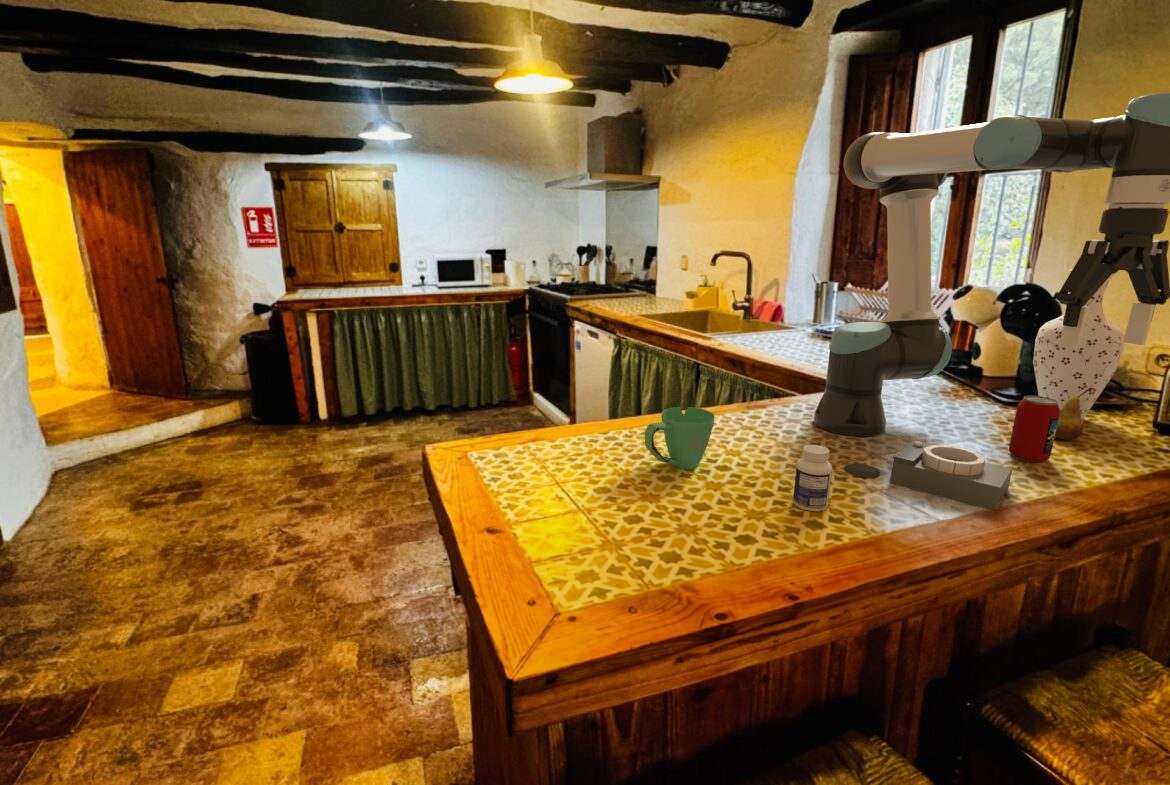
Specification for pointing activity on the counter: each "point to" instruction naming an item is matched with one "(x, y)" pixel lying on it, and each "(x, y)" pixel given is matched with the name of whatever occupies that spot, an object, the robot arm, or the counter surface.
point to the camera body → (951, 474)
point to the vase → (1078, 357)
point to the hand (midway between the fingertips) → (1101, 345)
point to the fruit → (1070, 420)
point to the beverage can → (1034, 428)
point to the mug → (682, 436)
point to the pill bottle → (813, 479)
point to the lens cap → (862, 470)
